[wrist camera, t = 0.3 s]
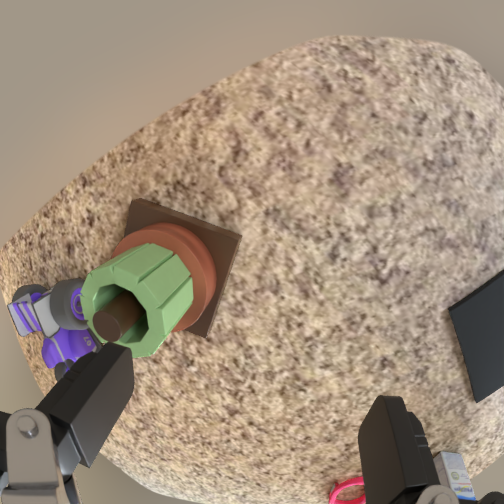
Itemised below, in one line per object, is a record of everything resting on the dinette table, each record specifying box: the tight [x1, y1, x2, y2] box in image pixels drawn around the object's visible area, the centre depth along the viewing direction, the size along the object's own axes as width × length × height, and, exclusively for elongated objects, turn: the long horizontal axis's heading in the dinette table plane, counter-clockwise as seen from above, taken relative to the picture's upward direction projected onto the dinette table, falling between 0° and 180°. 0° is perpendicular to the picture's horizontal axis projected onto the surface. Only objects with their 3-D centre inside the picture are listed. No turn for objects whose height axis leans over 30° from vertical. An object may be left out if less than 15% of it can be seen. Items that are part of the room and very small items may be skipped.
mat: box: [448, 270, 504, 403], centre depth 22 cm, size 14×8×1 cm, turn 35°
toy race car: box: [7, 278, 102, 382], centre depth 27 cm, size 10×15×6 cm, turn 12°
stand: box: [92, 198, 242, 342], centre depth 21 cm, size 9×9×10 cm
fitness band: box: [329, 477, 366, 504], centre depth 31 cm, size 8×6×2 cm
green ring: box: [80, 243, 193, 358], centre depth 20 cm, size 6×6×5 cm
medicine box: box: [433, 451, 476, 500], centre depth 25 cm, size 8×4×9 cm, turn 159°
